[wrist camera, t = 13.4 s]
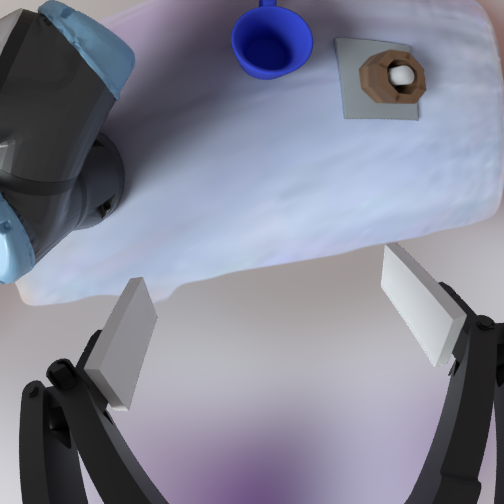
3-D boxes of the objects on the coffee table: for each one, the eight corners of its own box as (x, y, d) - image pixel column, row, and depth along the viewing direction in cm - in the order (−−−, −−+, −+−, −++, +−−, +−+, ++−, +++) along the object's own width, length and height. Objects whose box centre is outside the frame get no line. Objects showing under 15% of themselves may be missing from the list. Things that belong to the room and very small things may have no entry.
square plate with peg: (344, 118, 36) (367, 120, 28) (333, 39, 30) (354, 24, 23) (414, 120, 35) (446, 124, 28) (406, 47, 30) (436, 38, 23)
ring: (362, 102, 34) (382, 101, 28) (356, 55, 30) (375, 47, 25) (404, 104, 33) (427, 105, 28) (399, 59, 30) (421, 54, 25)
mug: (292, 8, 28) (308, -20, 19) (296, 85, 33) (315, 76, 25) (231, 8, 28) (229, -22, 19) (234, 86, 33) (232, 75, 24)
